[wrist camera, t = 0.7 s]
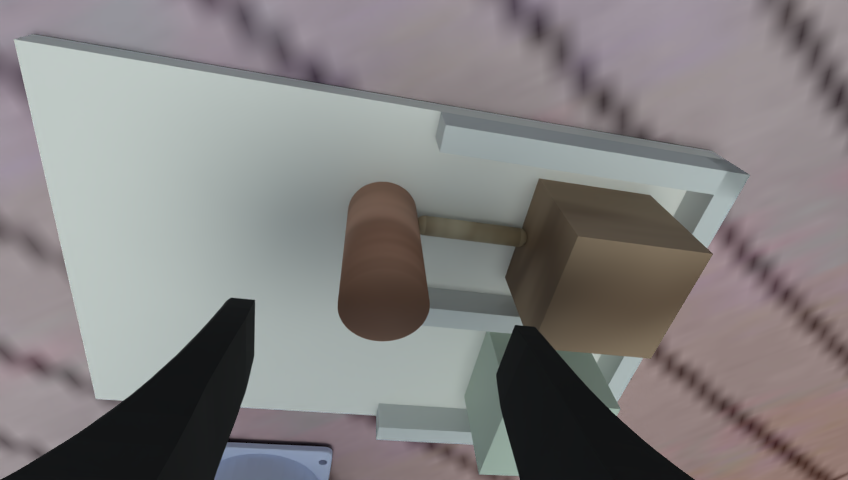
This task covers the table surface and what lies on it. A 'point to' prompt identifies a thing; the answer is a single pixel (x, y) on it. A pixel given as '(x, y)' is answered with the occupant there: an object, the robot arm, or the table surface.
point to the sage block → (485, 402)
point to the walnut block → (531, 266)
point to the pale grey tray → (305, 221)
